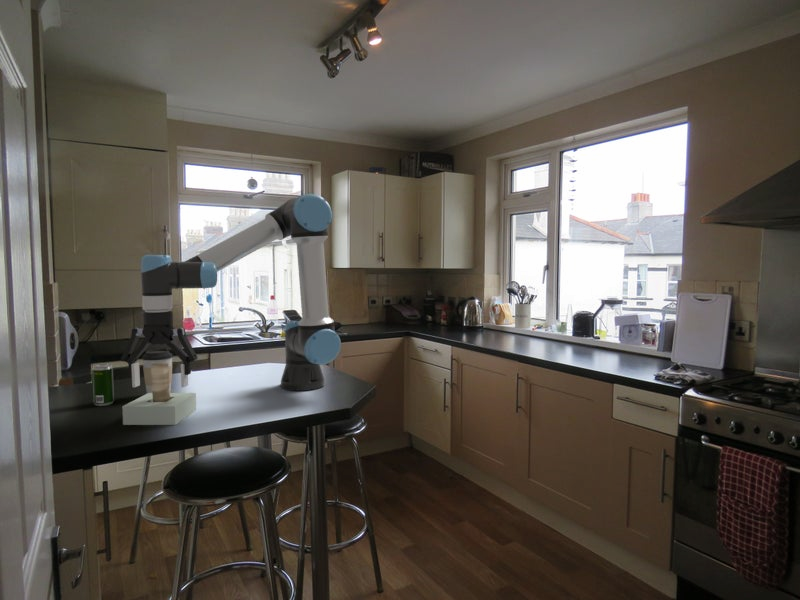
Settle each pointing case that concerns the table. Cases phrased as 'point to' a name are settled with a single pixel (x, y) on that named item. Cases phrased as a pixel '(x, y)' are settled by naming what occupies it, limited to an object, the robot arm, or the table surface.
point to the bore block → (159, 410)
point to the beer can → (103, 384)
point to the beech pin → (160, 382)
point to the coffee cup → (156, 357)
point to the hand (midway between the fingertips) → (160, 386)
